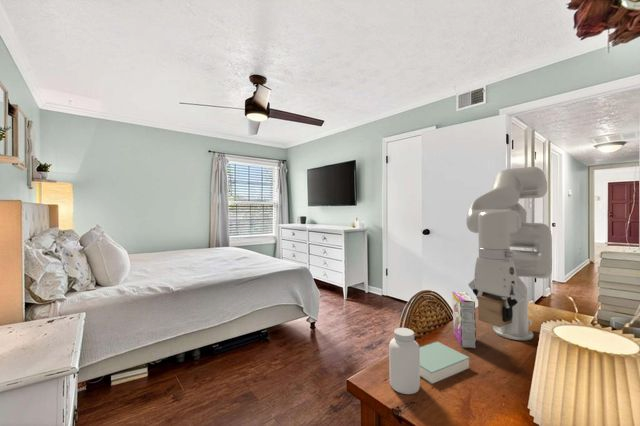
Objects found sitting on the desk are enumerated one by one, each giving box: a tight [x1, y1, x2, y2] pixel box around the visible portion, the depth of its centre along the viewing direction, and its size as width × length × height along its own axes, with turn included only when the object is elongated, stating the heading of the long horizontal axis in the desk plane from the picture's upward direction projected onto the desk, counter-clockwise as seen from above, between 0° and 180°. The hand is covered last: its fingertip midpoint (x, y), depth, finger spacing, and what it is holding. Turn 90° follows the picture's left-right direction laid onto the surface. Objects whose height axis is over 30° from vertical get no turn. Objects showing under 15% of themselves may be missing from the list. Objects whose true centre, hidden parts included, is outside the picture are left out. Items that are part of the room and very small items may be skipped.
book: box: [419, 340, 470, 385], centre depth 87 cm, size 12×16×4 cm
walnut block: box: [477, 293, 512, 327], centre depth 81 cm, size 6×6×7 cm
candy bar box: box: [452, 291, 477, 349], centre depth 102 cm, size 11×5×16 cm, turn 168°
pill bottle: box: [388, 327, 421, 395], centre depth 78 cm, size 8×8×15 cm
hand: (495, 316), depth 82 cm, fingers closed on walnut block, 6 cm apart
